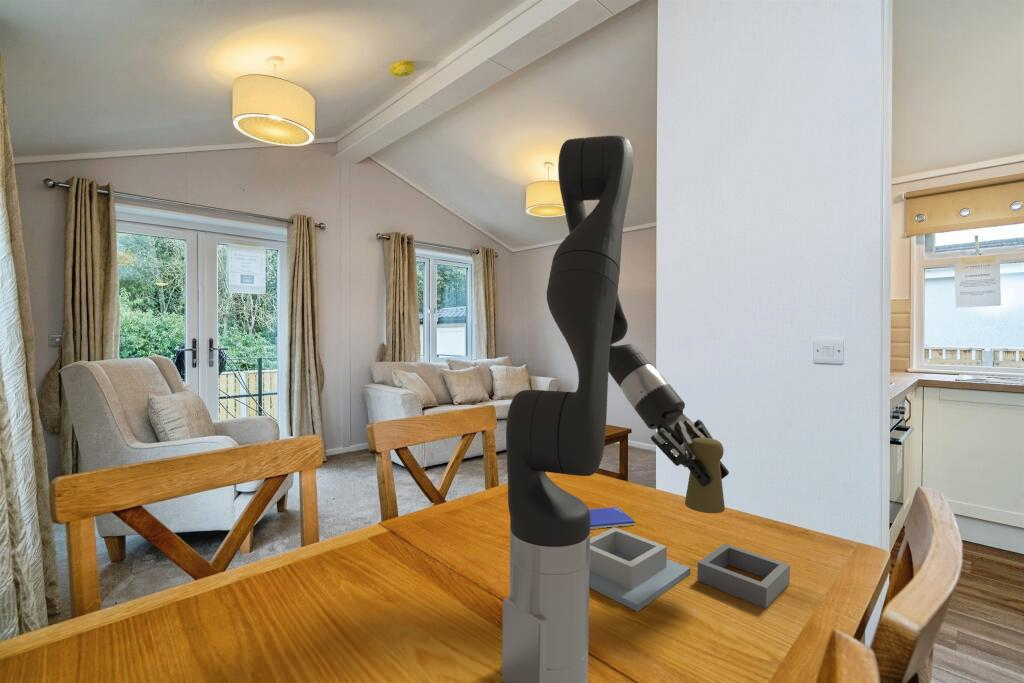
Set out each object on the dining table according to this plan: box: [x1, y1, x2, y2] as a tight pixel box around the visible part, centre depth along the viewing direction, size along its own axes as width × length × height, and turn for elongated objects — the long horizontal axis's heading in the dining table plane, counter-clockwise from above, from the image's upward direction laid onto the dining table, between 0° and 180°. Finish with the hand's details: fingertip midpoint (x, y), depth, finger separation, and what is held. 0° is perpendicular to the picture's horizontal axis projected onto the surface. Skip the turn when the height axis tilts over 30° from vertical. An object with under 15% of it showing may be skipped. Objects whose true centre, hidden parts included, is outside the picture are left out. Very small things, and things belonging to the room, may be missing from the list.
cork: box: [684, 438, 726, 514], centre depth 77 cm, size 6×6×11 cm
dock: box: [589, 527, 691, 612], centre depth 80 cm, size 16×16×4 cm
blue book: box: [588, 506, 636, 530], centre depth 102 cm, size 2×8×12 cm
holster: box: [696, 543, 791, 609], centre depth 77 cm, size 10×10×3 cm
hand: (716, 479), depth 76 cm, fingers closed on cork, 4 cm apart
